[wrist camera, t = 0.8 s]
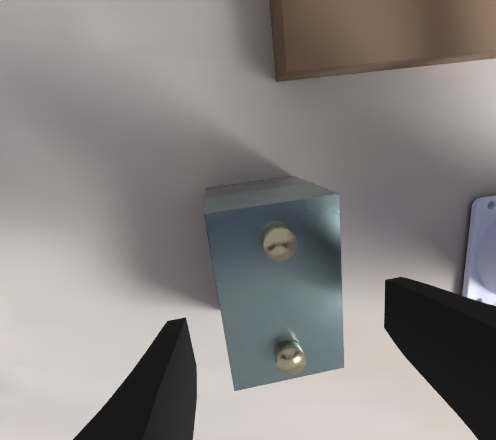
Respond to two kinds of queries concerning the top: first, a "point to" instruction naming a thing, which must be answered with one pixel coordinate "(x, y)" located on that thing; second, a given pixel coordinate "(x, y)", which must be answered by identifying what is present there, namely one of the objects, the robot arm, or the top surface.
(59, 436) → the top surface
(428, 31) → the stand
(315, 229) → the housing
